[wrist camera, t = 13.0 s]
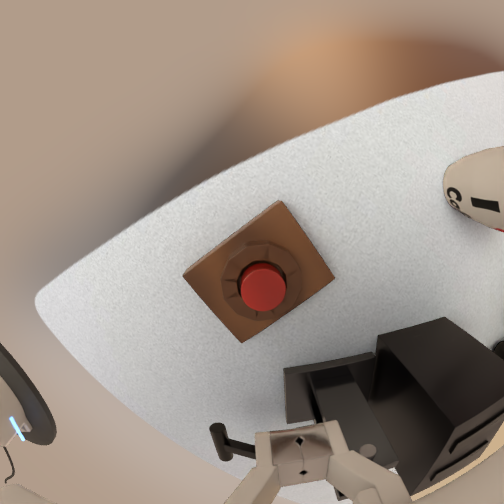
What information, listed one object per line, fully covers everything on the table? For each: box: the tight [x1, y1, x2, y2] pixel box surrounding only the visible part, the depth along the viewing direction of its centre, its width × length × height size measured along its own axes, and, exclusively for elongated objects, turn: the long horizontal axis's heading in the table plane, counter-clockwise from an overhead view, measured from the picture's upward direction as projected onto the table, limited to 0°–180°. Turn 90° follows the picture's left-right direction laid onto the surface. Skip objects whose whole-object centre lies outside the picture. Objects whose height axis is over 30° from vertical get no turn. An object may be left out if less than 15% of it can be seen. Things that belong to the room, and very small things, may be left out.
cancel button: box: [241, 263, 286, 311], centre depth 20 cm, size 3×3×2 cm
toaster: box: [368, 317, 504, 496], centre depth 20 cm, size 10×12×15 cm
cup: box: [443, 146, 504, 232], centre depth 18 cm, size 8×8×10 cm
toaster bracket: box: [283, 352, 399, 501], centre depth 21 cm, size 10×8×14 cm
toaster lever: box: [209, 423, 256, 461], centre depth 18 cm, size 15×5×2 cm, turn 95°
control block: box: [183, 200, 335, 343], centre depth 23 cm, size 10×8×4 cm
